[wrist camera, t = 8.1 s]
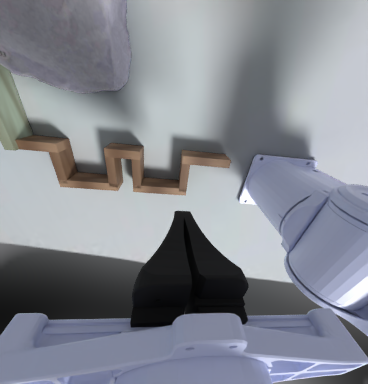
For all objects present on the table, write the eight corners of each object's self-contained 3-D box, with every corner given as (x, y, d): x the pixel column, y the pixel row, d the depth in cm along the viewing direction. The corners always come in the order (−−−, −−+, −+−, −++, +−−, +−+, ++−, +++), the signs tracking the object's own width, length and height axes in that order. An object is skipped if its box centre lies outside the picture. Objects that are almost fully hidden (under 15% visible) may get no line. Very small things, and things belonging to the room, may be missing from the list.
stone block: (137, 93, 19) (128, -57, 12) (126, 103, 15) (103, -102, 8) (32, 77, 18) (-42, -95, 11) (-7, 84, 14) (-150, -164, 7)
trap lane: (273, -32, 13) (297, -64, 10) (216, 188, 24) (221, 199, 21) (-74, -116, 10) (-156, -185, 8) (40, 175, 21) (22, 186, 19)
